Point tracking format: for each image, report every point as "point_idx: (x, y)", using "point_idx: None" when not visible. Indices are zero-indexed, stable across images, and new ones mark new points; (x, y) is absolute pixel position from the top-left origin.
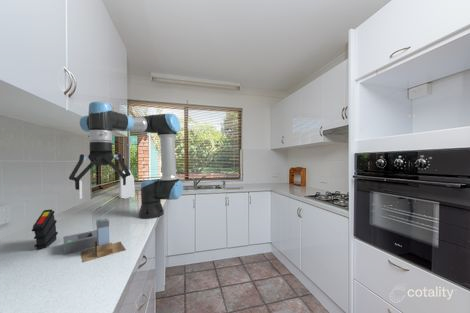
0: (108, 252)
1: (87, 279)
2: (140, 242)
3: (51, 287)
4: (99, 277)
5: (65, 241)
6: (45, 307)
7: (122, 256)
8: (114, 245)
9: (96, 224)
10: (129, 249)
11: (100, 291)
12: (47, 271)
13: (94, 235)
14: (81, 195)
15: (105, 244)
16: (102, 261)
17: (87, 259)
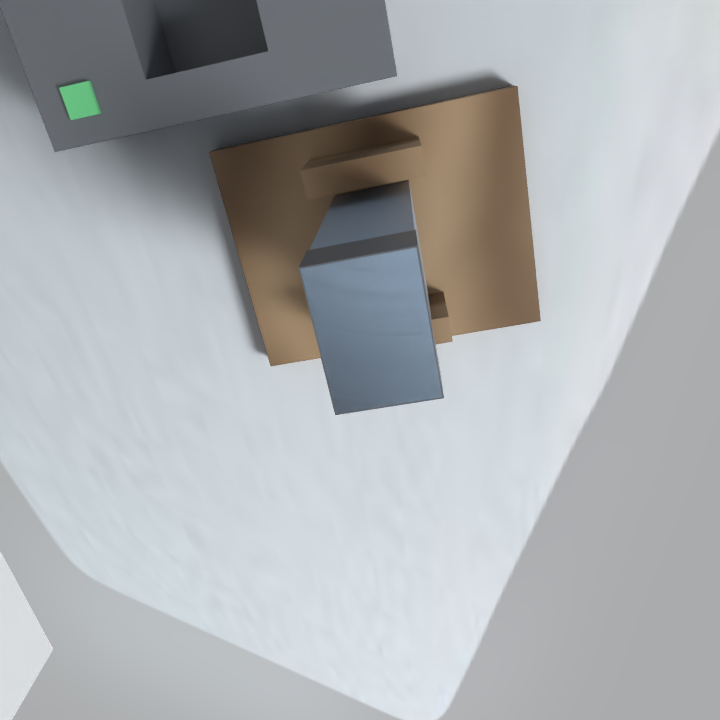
0: None
1: (331, 528)
2: (678, 156)
3: (189, 515)
4: (383, 539)
5: (39, 68)
6: (222, 635)
7: (504, 363)
8: (463, 164)
9: (306, 254)
10: (565, 266)
11: (395, 639)
12: (92, 330)
13: (280, 30)
14: (9, 702)
15: None
16: None
17: (292, 337)
